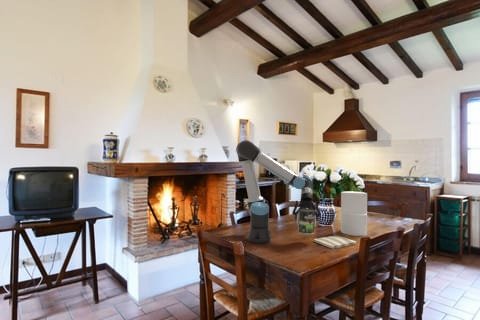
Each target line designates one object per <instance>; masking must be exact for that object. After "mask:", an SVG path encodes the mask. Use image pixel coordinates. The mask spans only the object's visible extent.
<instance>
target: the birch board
mask: <svg viewBox="0 0 480 320" xmlns="http://www.w3.org/2000/svg"><path fill="white" fill-rule="evenodd" d="M313 242H314V243H317V244H319V245H322V246H324V247H326V248H329V249H331V250H333V249H339V248H343V247H348V246H354V245H357V241H355V240H352V239H350V238H347V237H344V236H340V235H331V236H330V235H329V236H324V237H319V238H314V239H313Z"/></svg>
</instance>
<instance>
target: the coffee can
mask: <svg viewBox="0 0 480 320" xmlns="http://www.w3.org/2000/svg"><path fill="white" fill-rule="evenodd" d="M297 210H298V225H297V233H298V234H301V235H309V236H310V235H312V236H313V235H314V234H315V227H314V222H315V211H316V209H314V210H312V209H309V208H303V209H299V208H297Z"/></svg>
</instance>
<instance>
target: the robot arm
mask: <svg viewBox="0 0 480 320" xmlns="http://www.w3.org/2000/svg"><path fill="white" fill-rule="evenodd" d="M235 149H236V150H235V151H236V155H237V159H238V163H239V164H241V168H242V174H243V178H244V182H245V186H246V187H245V188H246V192H247V197H248V199H247V200H246V204H247V212H248V214H249V215H250V229H249V231H248V234H247V241H248V242H250V243H253V244H260V245H261V244H268V243H271V242H272V234H271V231H270V228H269V227H270V225H269V223H270V205H269V204H268V203H266V202H265V200H264V197H263V196H261V190H260V185H259V181H258V175H257V171H256V169H257V168H256V166H255V165H256V164H257V165H260V166H261V167H263V168H264V169H265V170H268V171H269V172H270V173H272V174H273V175H275V176H277V178H279V179H281V180H283V184H285V185H287V186H291V187H293V188H295V189H297V190H300V201H298V200H295V205H294V207H293V210H292V216H294V220H295V221H296V226H298V209H312V210H315V222H314V228H315V227H316V226H317V222H318V220H319V218H321V215H322V214H321V211H320V209H319V206H318V201H315V202H314V201H313V185H314V184H313V178H312V177H311V176H310V175H303V176H299V175H297V174H296V173H295V172H293V171H292V170H290V169H288V168H287V167H286V166H284V165H283V164H281V163H279V162H278V161H277V160H275V159H274V158H272V157H270V156H268V155H267V154H265V153H264V152H263V151H262V149H261V148H260V147H258V146H257V145H255V144H254V143H253V142H252V141H250V140H242V141H240V142H239V143H238V144H237V145H236V148H235ZM255 163H256V164H255ZM299 205H300V206H299ZM313 206H314V207H315V208H314V207H313Z"/></svg>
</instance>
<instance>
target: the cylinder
mask: <svg viewBox="0 0 480 320" xmlns="http://www.w3.org/2000/svg"><path fill="white" fill-rule="evenodd" d="M340 196H341V197H340V198H341V199H340V200H341V201H340V207H341V208H340V232H341V233H342V234H345V235H348V236H349V235H350V236H355V237H360V236H362V237H363V236H367V234H368V192H363V191H353V190H352V191H350V190H349V191H341V193H340Z"/></svg>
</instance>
